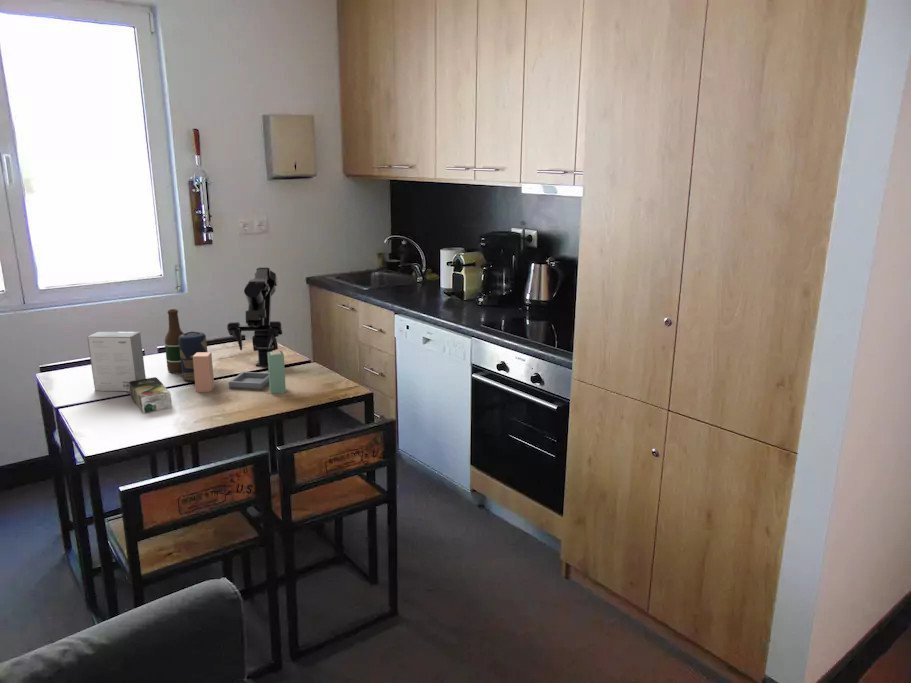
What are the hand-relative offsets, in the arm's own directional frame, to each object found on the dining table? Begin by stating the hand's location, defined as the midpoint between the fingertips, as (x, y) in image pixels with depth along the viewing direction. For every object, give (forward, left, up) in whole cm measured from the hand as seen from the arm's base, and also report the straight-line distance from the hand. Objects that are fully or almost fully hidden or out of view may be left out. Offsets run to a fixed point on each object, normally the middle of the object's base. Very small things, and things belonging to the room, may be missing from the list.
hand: (254, 349), depth 242 cm
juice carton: (+21, -29, -14) cm, 38 cm away
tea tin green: (+4, +9, -14) cm, 17 cm away
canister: (-5, -25, -14) cm, 29 cm away
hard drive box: (+9, -47, -14) cm, 50 cm away
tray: (-2, -3, -14) cm, 14 cm away
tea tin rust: (+6, -17, -14) cm, 22 cm away
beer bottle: (-13, -37, -14) cm, 41 cm away
